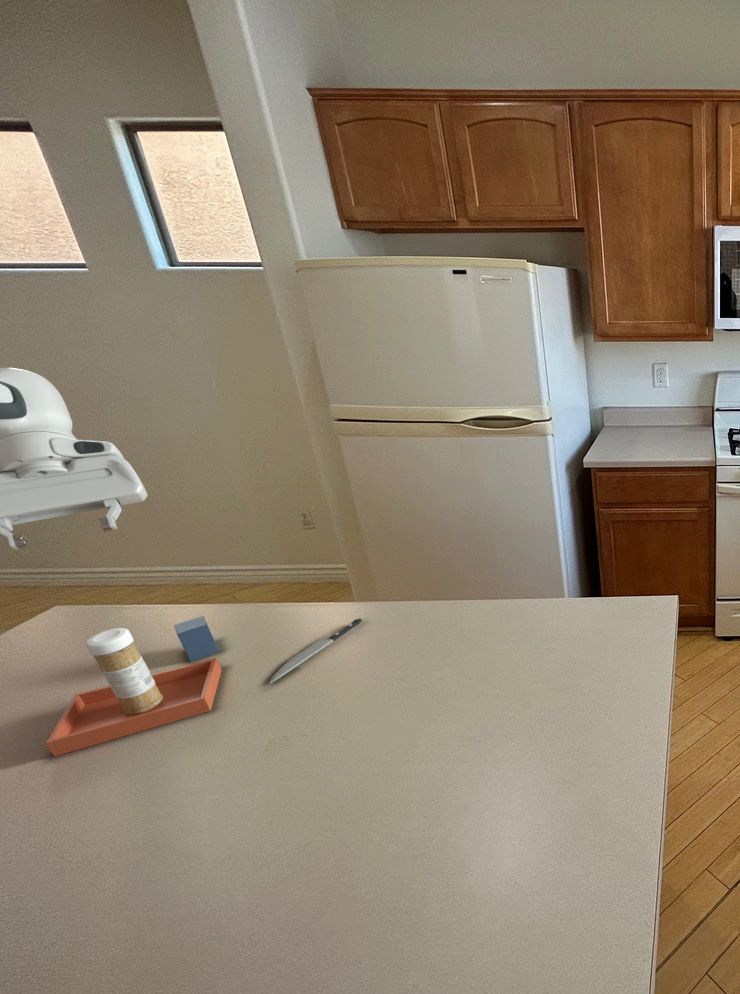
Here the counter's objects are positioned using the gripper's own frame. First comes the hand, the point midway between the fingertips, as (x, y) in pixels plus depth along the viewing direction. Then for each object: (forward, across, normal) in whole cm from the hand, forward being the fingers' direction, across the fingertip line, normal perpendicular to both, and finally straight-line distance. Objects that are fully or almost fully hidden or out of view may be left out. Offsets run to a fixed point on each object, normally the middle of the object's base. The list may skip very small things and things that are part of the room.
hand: (66, 538), depth 85 cm
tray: (+28, +1, +8) cm, 29 cm away
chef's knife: (+28, +24, +8) cm, 38 cm away
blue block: (+19, +9, +17) cm, 27 cm away
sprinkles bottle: (+28, +1, +8) cm, 29 cm away
